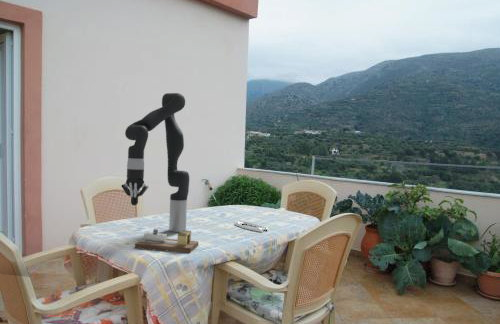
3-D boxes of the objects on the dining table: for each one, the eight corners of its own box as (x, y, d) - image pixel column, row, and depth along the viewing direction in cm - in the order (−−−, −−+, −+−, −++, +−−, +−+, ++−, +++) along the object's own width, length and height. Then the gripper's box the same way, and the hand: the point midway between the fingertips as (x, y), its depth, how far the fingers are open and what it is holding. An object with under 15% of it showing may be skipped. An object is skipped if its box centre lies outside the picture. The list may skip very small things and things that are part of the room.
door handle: (242, 223, 221) (271, 231, 203) (230, 225, 215) (259, 233, 196) (242, 219, 221) (271, 227, 203) (230, 221, 214) (259, 229, 196)
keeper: (182, 241, 164) (182, 230, 164) (190, 242, 164) (191, 231, 164) (177, 245, 157) (177, 233, 157) (185, 246, 157) (186, 234, 157)
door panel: (146, 241, 170) (146, 236, 170) (198, 245, 166) (198, 241, 166) (134, 247, 158) (135, 243, 158) (190, 252, 154) (190, 247, 154)
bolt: (146, 238, 165) (147, 228, 165) (166, 240, 163) (167, 229, 163) (143, 240, 162) (144, 229, 162) (164, 242, 160) (164, 231, 160)
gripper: (152, 168, 166) (151, 204, 166) (126, 167, 168) (125, 203, 168) (145, 169, 158) (144, 207, 159) (118, 167, 160) (116, 205, 161)
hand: (134, 205), depth 164 cm, fingers closed
